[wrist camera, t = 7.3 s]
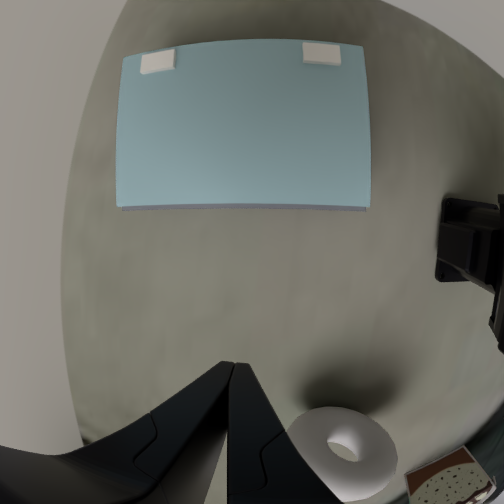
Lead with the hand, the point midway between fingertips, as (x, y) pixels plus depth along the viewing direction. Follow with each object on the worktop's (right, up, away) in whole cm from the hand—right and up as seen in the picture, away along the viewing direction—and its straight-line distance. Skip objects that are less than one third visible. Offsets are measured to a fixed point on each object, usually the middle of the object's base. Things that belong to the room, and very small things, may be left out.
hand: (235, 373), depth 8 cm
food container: (+26, -27, +17) cm, 41 cm away
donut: (+8, -11, +15) cm, 20 cm away
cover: (0, +11, +6) cm, 12 cm away
